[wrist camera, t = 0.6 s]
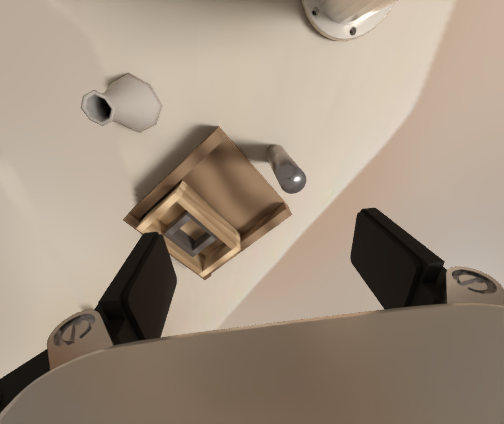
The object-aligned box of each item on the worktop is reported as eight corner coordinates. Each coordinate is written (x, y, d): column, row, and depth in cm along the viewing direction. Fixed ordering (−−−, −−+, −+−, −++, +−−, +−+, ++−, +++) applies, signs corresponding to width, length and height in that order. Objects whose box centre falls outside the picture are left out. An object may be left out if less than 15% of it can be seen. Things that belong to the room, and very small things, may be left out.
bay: (218, 126, 34) (216, 130, 31) (287, 205, 41) (292, 216, 38) (133, 208, 40) (122, 220, 36) (207, 265, 47) (204, 280, 43)
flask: (142, 141, 35) (110, 157, 26) (98, 102, 32) (45, 106, 23) (171, 105, 33) (148, 110, 24) (127, 61, 30) (82, 48, 21)
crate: (182, 180, 36) (175, 192, 32) (240, 233, 42) (240, 249, 37) (147, 213, 39) (136, 228, 34) (206, 259, 44) (202, 277, 40)
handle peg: (276, 140, 36) (296, 163, 24) (287, 154, 37) (311, 182, 26) (262, 153, 37) (274, 180, 25) (273, 166, 38) (290, 198, 26)
